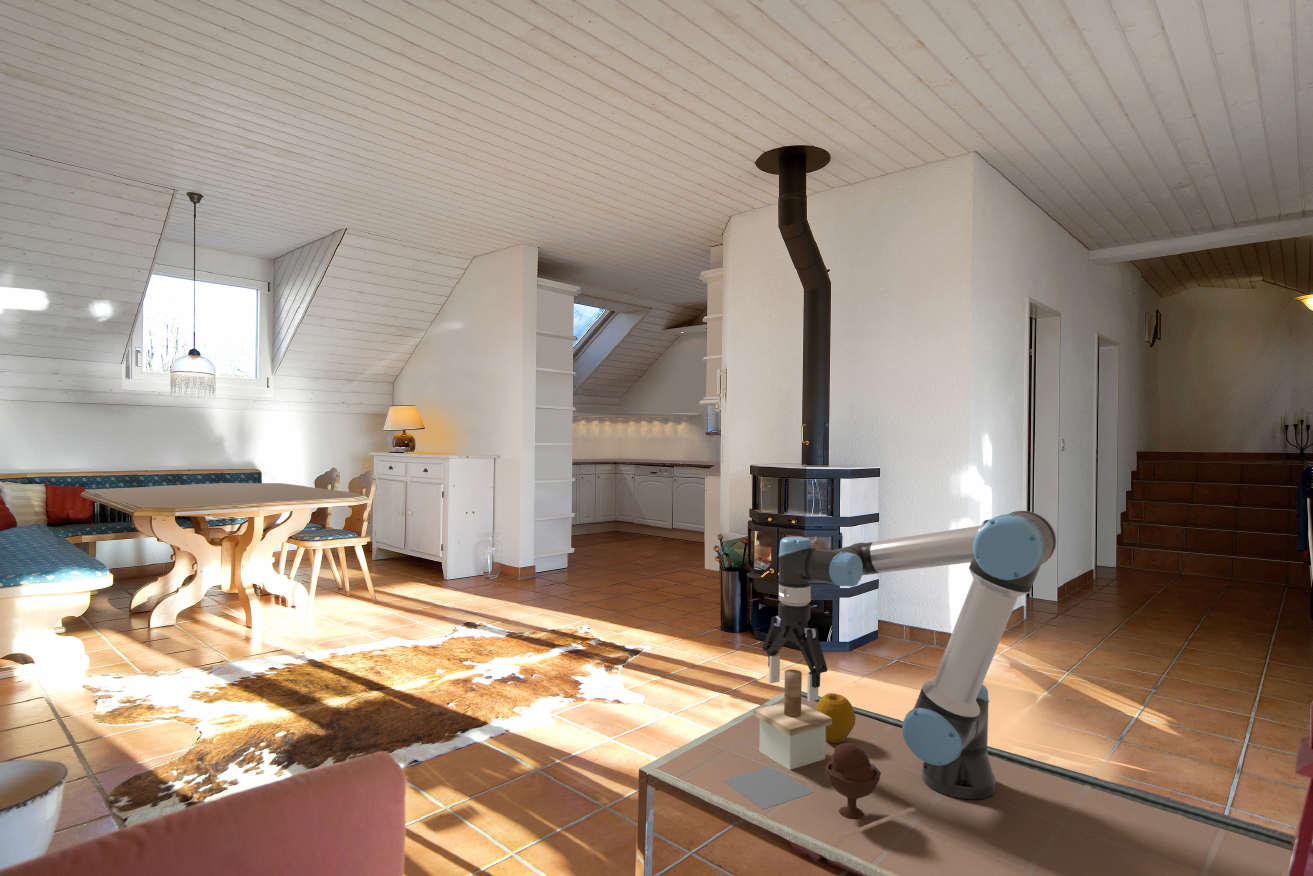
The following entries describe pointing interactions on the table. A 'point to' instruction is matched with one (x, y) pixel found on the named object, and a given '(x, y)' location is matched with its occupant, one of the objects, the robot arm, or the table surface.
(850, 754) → the ice cream bowl
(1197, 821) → the table surface
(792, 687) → the lid
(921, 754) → the robot arm
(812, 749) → the pale green open box
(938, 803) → the table surface
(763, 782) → the mat
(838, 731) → the apple
